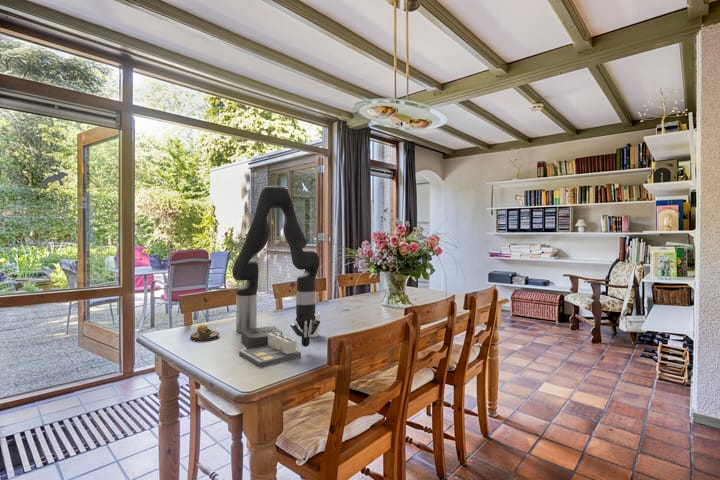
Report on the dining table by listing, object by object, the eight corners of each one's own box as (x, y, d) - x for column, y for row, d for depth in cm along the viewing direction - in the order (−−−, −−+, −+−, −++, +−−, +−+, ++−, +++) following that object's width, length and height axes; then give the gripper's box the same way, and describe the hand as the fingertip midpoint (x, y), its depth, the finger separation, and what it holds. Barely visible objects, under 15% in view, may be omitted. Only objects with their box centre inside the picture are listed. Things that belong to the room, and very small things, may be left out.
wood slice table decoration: (222, 339, 164) (222, 322, 164) (194, 343, 157) (194, 326, 157) (214, 332, 174) (214, 316, 174) (187, 337, 167) (187, 320, 166)
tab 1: (267, 344, 150) (267, 332, 150) (276, 343, 153) (276, 330, 152) (272, 347, 147) (272, 334, 147) (280, 345, 150) (281, 332, 150)
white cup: (299, 336, 169) (299, 314, 169) (307, 332, 176) (308, 311, 176) (314, 338, 166) (314, 316, 166) (322, 334, 173) (323, 312, 173)
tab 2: (274, 348, 146) (274, 335, 146) (283, 346, 149) (283, 333, 148) (279, 350, 143) (279, 337, 143) (288, 348, 146) (288, 335, 146)
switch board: (239, 355, 143) (239, 350, 143) (278, 346, 154) (278, 341, 154) (259, 367, 131) (259, 361, 131) (300, 356, 142) (300, 351, 142)
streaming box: (249, 351, 148) (249, 338, 148) (240, 342, 160) (240, 330, 160) (284, 345, 156) (284, 333, 156) (272, 337, 168) (272, 325, 168)
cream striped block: (281, 351, 142) (281, 338, 142) (290, 349, 144) (290, 336, 144) (287, 354, 139) (287, 340, 139) (295, 352, 142) (296, 338, 142)
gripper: (314, 298, 154) (313, 340, 154) (286, 302, 145) (285, 347, 145) (325, 301, 148) (324, 345, 148) (296, 305, 139) (296, 352, 140)
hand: (305, 346), depth 147 cm, fingers closed
